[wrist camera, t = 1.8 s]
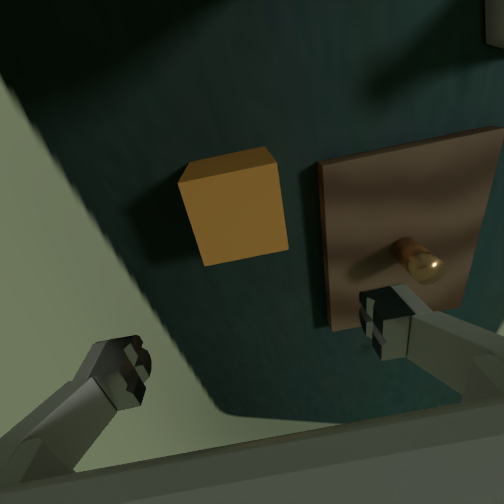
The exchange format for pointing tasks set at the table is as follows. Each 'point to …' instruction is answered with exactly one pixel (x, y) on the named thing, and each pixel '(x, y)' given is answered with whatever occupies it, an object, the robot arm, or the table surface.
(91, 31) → the table surface
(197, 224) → the mustard brick
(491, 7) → the flask
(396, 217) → the walnut post base
